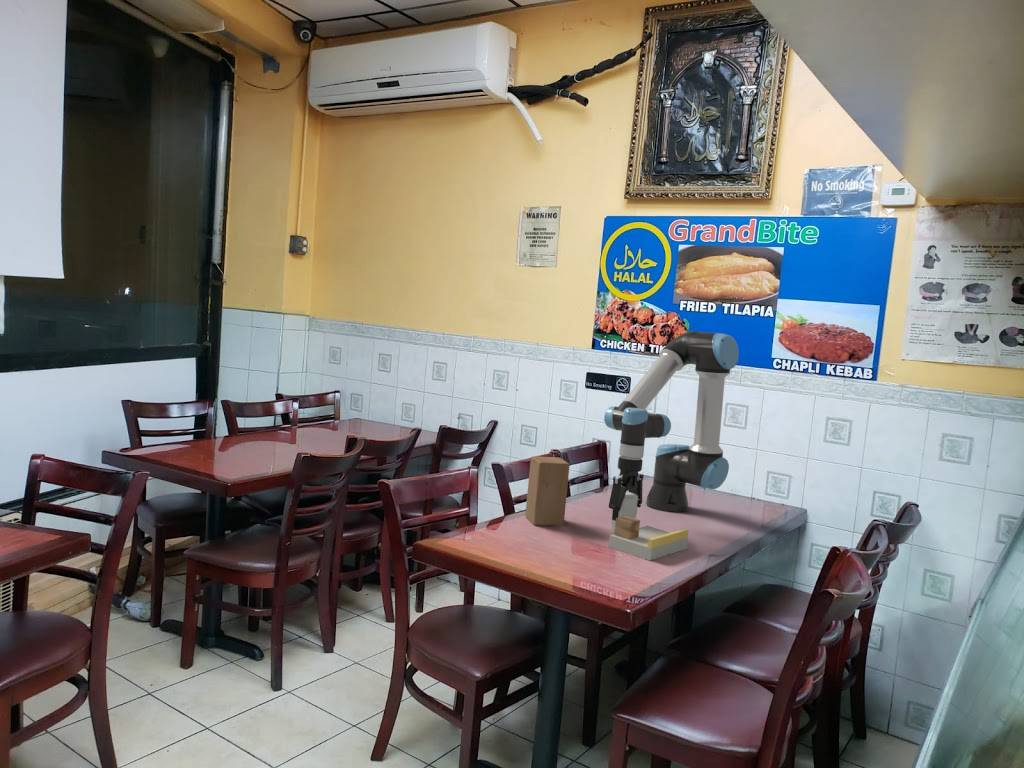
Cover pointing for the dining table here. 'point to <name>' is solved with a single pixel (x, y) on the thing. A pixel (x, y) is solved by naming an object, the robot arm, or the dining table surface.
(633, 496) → the skincare box
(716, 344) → the robot arm
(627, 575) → the dining table surface
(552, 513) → the wooden block
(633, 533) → the tan wooden cube
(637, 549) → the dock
